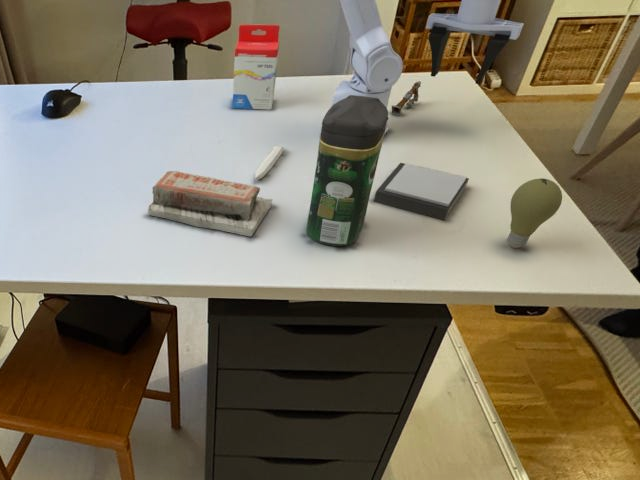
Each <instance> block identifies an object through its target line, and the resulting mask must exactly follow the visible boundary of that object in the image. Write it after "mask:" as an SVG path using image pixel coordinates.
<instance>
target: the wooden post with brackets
mask: <svg viewBox="0 0 640 480" xmlns="http://www.w3.org/2000/svg"><path fill="white" fill-rule="evenodd" d="M421 84H422V82H421V81H420V80H419V81H415V82H414V84H413V85H412V86H411V89H410V90H408V91H406V93H405V95H404V96H402V99H401V100H400V101H399V102H398V103H397V104H396V105H391V114H392V115H396V116H401V114H402V109H403V108H404V106H405V108H406V109H412V108H411V107H412V106H414V105H415V103H417V102H418V101H419V97H420V96H419V95H420V94H419V89H420V87H421ZM412 97H413V98H412Z"/></svg>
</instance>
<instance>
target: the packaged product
mask: <svg viewBox="0 0 640 480" xmlns="http://www.w3.org/2000/svg"><path fill="white" fill-rule="evenodd" d="M260 191H261V188H260V187H259V186H255V185H251V184H246V183H240V182H235V181H229V180H224V179H217V178H213V177H209V176H203V175H199V174H193V173H188V172H182V171H179V170H170V171H169V170H168V171H166V172H165V174H164V175H163V176H162V177H161V178H159V180H157V182H155V184H154V185H153V186H152V194H153V196H152V202H151V203H150V204H149V205H148V208H147V214H148V216H152V217H158V218H163V219H167V220H171V221H173V222H174V221H175V222H179V223H183V224H186V225H189V226H193V227H197V228H204V229H211V230H212V229H213V230H217V231H221V232H222V231H223V232H227V233H233V234H236V235H241V236H246V237H250V238H251V237H252V236H253V235H254V233H255V232H256V230H257V229H258V228H259V226H260V224H261V223H262V221H263V220H264V218H265V217H266V215H267V214H268V213H269V210H270V209H271V207H272V204H273V199H272V198H263V197H261V196H258V195H259V194H260Z"/></svg>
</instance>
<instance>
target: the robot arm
mask: <svg viewBox="0 0 640 480" xmlns="http://www.w3.org/2000/svg"><path fill="white" fill-rule="evenodd" d="M501 1H502V0H461V1H460V4H459V9H458V12H457V13H434V12H433V13H431V14H430V15H428V16H427V17H428V18H427V20H426V25H425V29H426V30H430V33H429V34H428V42H429V46H430V53H431V69H430V70H431V71H430V77H436V76H437V75H438V74H439V71H440V69H441V66H442V61H443V57H444V53H445V50H446V47H447V44H448V42H449V41H448V40H449V38H450V35H451V33H452V31H453V32H461V33H468V34H475V35H476V34H477V35H483V36H484V35H485V36H492V38H491V39H490V40H489V41H488V43H487V48H486V51H485V54H484V58H483V61H482V64H481V67H480V69H479V71H478V74H477V77H476V79H475V84H477V85H480V84H481V83H482V82H483V81H484V78H485V77H486V74H487V72H488V70H489V69H490V67H491V66H492V64H493V63H494V61H495V60H496V59H497V57H498V55H499V54H501V52H502V50H504V49H505V47H506V46H507V44H508V43H509V42H510V41H511V40H514V41H516V40H518V38H519V37H520V35H521V32H522V29H523V27H524V25H525V24H524V23H523V22H516V21H513V20H512V21H511V20H507V19H504V18H503V19H502V18H498V17H496V15H497V13H498V10H499V6H500V4H501ZM339 3H340V6H341V9H342V12H343V16H344V20H345V23H346V25H347V28H348V33H349V39H348V40H349V41H348V42H349V45H350V56H349V63H350V67H351V69H352V70H353V74H352V76H351V79H350V80H341V81H340V82H339V84H338V85H337V87H336V89H335V92H334V94H333V98H332V103H331V107H332V106H333V105H334V104H335V103H337V102H338V101H340V100H342V99H345V98H347V97H348V96H349V95H356V96H365V97H373V98H378V99H379V100H380V101H381V102H382V103H383V104H384V105H385V107H386V108H387V109H388V105H389V102H390V97H391V92H392V88H393V86H395V84H396V83H397V82H398V81H399V79H400V78H401V76H402V73H403V69H404V65H403V64H404V63H403V59H402V57H401V56H400V55H399V54H398V53H397V52H396V51H394V49H393V46H392V43H391V40H390V38H389V36H388V34H387V32H386V30H385V28H384V26H383V24H382V23H383V22H382V20H381V16H380V13H379V8H378V4H377V1H376V0H339ZM389 130H390V129H389V127H387V126H386V129H385V133H384V135H386V133H388V131H389Z"/></svg>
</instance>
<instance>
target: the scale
mask: <svg viewBox="0 0 640 480" xmlns="http://www.w3.org/2000/svg"><path fill="white" fill-rule="evenodd" d="M469 179H470V178H469V177H468V176H465V175H461V174H457V173H452V172H448V171H443V170H439V169H436V168H435V169H434V168H430V167H427V166H422V165H417V164H412V163H409V162H406V163H404V162H400V163H399V164H398V165H397V166H396V167H395V168H394V170H393V171H392V172H391V173H390V174H389V176H388V177H387V178H386V179H385V180H384V181H383V183H382V184H380V186H379V187H378V189H377V190H375V194H374V198H373V202H376V203H380V204H383V205H387V206H390V207H395V208H397V209H402V210H406V211H409V212H414V213H416V214H421V215H424V216H428V217H432V218H436V219H440V220H444V221H445V220H446V219H447V217H448V216H449V214H450V213H451V211H452V210H453V208H454V207H455V205H456V203H458V201H459V199H460V198H461V196H462V194H463V193H464V191H465V190H466V187H467V185H468V183H469Z"/></svg>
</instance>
